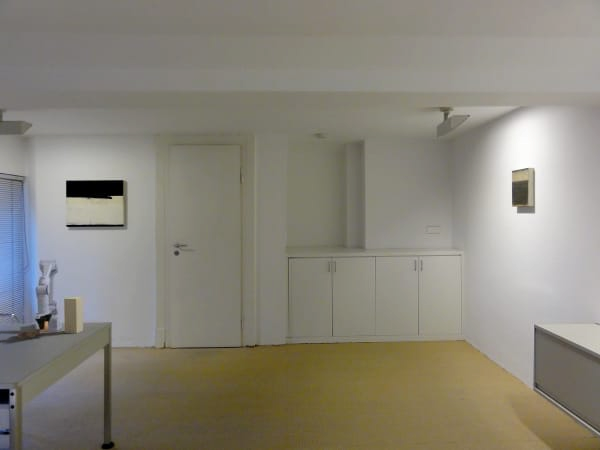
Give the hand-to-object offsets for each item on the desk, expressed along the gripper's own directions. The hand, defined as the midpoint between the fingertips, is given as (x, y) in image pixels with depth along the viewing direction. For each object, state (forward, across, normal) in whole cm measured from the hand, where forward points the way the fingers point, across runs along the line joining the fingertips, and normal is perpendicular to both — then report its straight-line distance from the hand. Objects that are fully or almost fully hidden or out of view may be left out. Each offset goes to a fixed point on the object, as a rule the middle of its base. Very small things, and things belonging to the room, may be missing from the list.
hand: (44, 328), depth 255 cm
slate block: (+2, -4, -11) cm, 12 cm away
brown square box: (+6, -4, -11) cm, 13 cm away
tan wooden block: (+6, -10, +13) cm, 17 cm away
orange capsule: (+2, 0, 0) cm, 2 cm away
